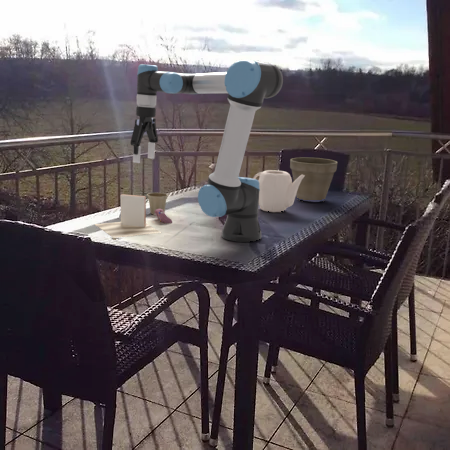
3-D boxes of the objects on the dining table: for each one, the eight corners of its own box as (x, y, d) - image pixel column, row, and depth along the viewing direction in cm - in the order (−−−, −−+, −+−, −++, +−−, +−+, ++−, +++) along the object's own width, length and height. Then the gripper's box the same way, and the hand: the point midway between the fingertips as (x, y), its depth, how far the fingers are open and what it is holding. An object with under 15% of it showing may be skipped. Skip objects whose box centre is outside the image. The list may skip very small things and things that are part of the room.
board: (161, 234, 194) (161, 232, 194) (113, 240, 184) (113, 237, 184) (139, 221, 212) (139, 220, 212) (94, 226, 202) (94, 224, 202)
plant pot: (323, 207, 259) (327, 164, 254) (279, 200, 271) (282, 159, 266) (340, 200, 280) (344, 160, 274) (298, 194, 292) (301, 156, 287)
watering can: (296, 217, 232) (299, 176, 228) (243, 209, 244) (245, 170, 240) (307, 211, 246) (310, 172, 241) (256, 204, 258) (259, 167, 253)
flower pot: (164, 216, 224) (164, 197, 221) (143, 214, 225) (143, 195, 223) (170, 212, 233) (170, 193, 230) (151, 210, 234) (151, 192, 232)
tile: (145, 225, 203) (145, 196, 200) (144, 226, 201) (144, 197, 198) (122, 223, 205) (122, 194, 202) (120, 224, 203) (120, 194, 201)
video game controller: (158, 223, 218) (151, 209, 215) (167, 218, 219) (160, 204, 216) (164, 228, 209) (156, 214, 206) (173, 223, 210) (166, 209, 207)
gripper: (150, 104, 210) (148, 155, 216) (122, 106, 187) (120, 163, 193) (167, 106, 208) (164, 158, 214) (141, 108, 185) (138, 165, 191)
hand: (143, 160), depth 203 cm, fingers open, 13 cm apart
